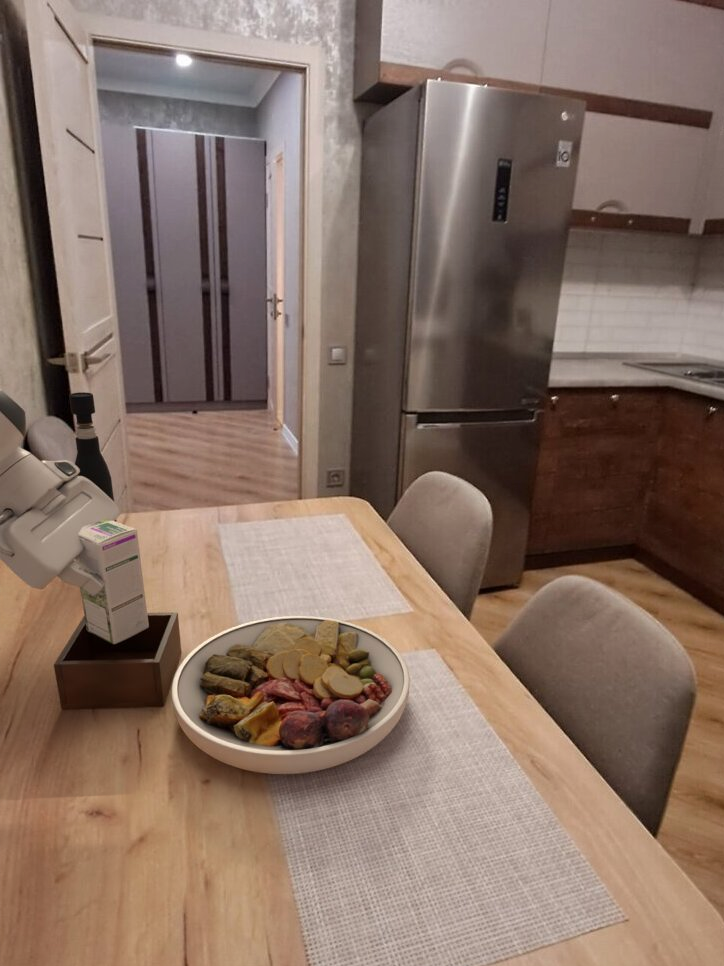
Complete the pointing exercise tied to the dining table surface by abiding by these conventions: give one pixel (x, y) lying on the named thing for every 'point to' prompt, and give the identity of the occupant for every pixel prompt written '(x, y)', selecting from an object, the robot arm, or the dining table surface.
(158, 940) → the dining table surface
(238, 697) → the bowl
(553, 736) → the dining table surface
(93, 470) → the black water bottle
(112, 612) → the syrup box
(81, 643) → the box
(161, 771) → the dining table surface
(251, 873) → the dining table surface
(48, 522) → the robot arm
